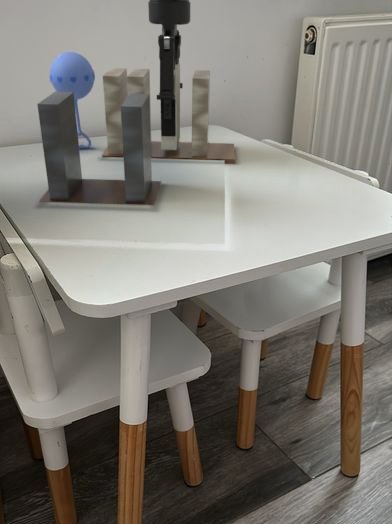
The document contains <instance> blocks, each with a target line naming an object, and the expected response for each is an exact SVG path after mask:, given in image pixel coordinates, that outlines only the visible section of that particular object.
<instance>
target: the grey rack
mask: <svg viewBox="0 0 392 524" xmlns="http://www.w3.org/2000/svg"><path fill="white" fill-rule="evenodd" d="M36 105H37V110H38V111H37V113H38V119H39V127H40V135H41V142H42V148H43V157H44V165H45V171H46V172H45V173H46V180H47V186H48V190H46V192H45V194H44V195H43V196H42V197H41V198H40V200H39V201H38V202H39V203H65V204H70V203H71V204H100V205H129V206H130V205H133V206H155V202H156V199H157V196H158V193H159V191H160V190H159V189H160V186H161V183H162V181H161V180H153V177H152V175H153V173H152V171H153V170H152V158H151V141H152V135H151V136H150V109H151V100H150V101H149V94H130V95H129V96H128V98H127V99H126V100H125V101H124V103H123V104H122V105H121V121H122V139H123V157H124V158H123V173H124V179H104V178H103V179H100V178H99V179H98V178H83V173H82V164H81V154H80V153H81V152H80V149H79V146H80V144H79V136H78V126H77V119H76V111H75V102H74V92H57V91H54V92H52V93H50V94H49V95H48V96H46V97H45V98H44V99H43V100H41V101H39V102H38V103H37V104H36Z"/></svg>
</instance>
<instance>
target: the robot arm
mask: <svg viewBox="0 0 392 524" xmlns="http://www.w3.org/2000/svg"><path fill="white" fill-rule="evenodd" d="M147 2H148V5H147V6H148V21H149V23H150V24H152V25H161V34H159V35H158V36H157V44H158V49H159V50H158V58H159V93H158V94H156V100H157V101H160V137H161V136H174V137H175V136H176V124H175V99H174V98H175V95H174V91H175V79H174V70H175V65H178V63H180V58H181V46H182V35H181V34H180V31H179V29H178V26H182V25H188V24H190V22H191V2H190V0H149V1H147ZM183 85H184V84H183V82H180V89H183ZM165 90H170V91H165Z"/></svg>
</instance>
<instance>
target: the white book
mask: <svg viewBox="0 0 392 524" xmlns="http://www.w3.org/2000/svg"><path fill="white" fill-rule="evenodd" d="M174 79H175V91H174V95H175V98H174V99H175V124H176V136H175V137H174V136H161V135H160V142H161V149H162V150H177V147H178V143H179V142H180V139H181V88H180V83H181V63H180V62H179V63H178V65H175V70H174ZM165 91H170V90H165Z"/></svg>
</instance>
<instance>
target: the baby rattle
mask: <svg viewBox="0 0 392 524" xmlns="http://www.w3.org/2000/svg"><path fill="white" fill-rule="evenodd" d="M95 75H96V74H95V70H94V69H93V66H92V65H91V63H90V62H89V61H88V59H87V58H86V57H85V56H83V55H82V54H80V53H78V52H75V51H64V52H61V54H59V55H57V56H56V57H55V58H54V59H53V61H52V63H51V65H50V69H49V76H48V77H49V81H50V83H51V85H52V87H53V89H54V90H55V92H74V102H75V112H76V122H77V132H78V137H81V136H82V137H83V138H85V140H87V142H88V144H87V145H84V144H79V150H81V149H84V150H87V149H89V148H90V147H91V146H92V140H91V139H90V137H89V136H88V135H87V134H86V133H84V132H83V131H82V127H81V120H80V113H79V106H78V101H79V100H81V99H83V98H85V97H87V96H88V95H89V94H90V92H92V89H93V87H94V84H95V81H96V76H95Z"/></svg>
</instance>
